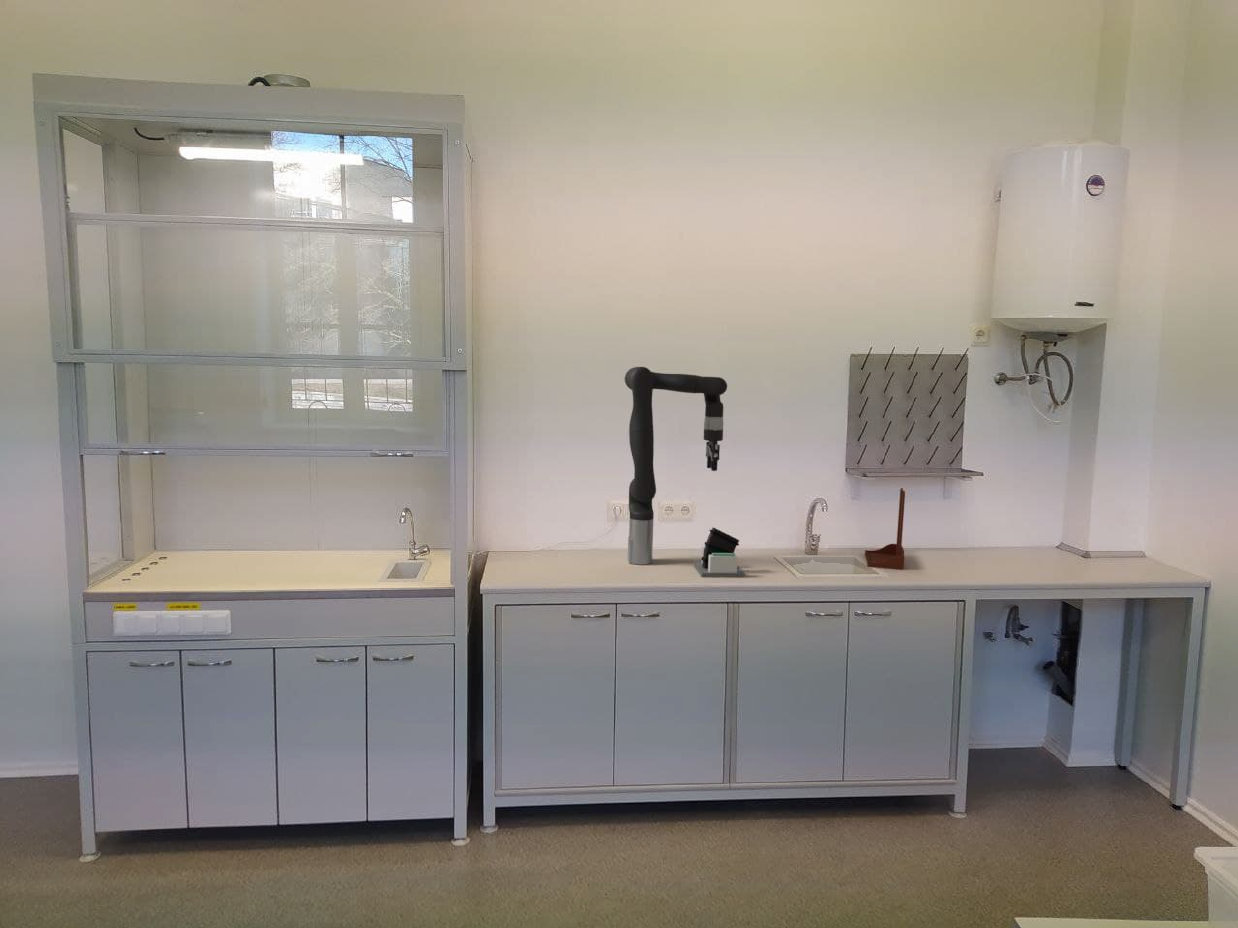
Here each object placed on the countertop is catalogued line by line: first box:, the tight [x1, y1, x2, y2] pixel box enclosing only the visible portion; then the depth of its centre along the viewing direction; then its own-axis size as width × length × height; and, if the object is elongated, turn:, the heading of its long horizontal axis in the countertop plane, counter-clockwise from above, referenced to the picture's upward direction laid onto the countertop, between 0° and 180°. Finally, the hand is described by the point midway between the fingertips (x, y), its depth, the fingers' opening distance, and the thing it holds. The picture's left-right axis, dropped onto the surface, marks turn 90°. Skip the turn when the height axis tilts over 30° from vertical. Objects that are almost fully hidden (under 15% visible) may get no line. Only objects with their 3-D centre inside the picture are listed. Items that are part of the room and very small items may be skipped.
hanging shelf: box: [864, 487, 906, 571], centre depth 310 cm, size 24×13×30 cm, turn 165°
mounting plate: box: [692, 546, 746, 578], centre depth 287 cm, size 16×17×8 cm
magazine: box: [700, 527, 740, 569], centre depth 287 cm, size 4×13×15 cm, turn 100°
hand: (711, 469), depth 303 cm, fingers open, 8 cm apart
